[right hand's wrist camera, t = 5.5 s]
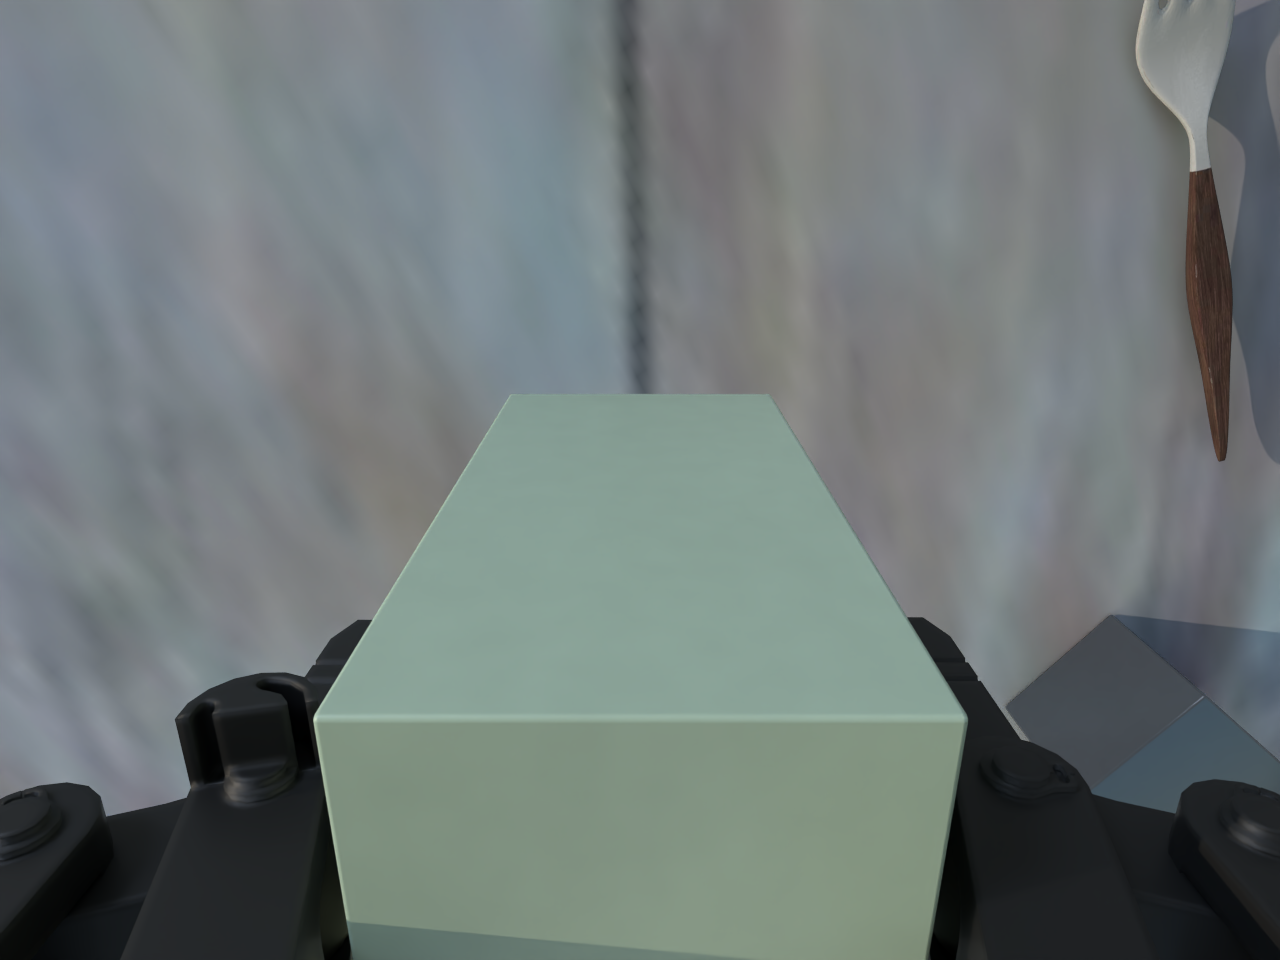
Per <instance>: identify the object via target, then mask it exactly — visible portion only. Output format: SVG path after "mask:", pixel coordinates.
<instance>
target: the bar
mask: <svg viewBox="0 0 1280 960" xmlns="http://www.w3.org/2000/svg"><path fill="white" fill-rule="evenodd" d="M313 722H314V728H315V734H316V740H317V746H318V752H319V758H320V764H321V770H322V776H323V782H324V788H325V794H326V800H327V806H328V812H329V818H330V825H331V831H332V837H333V843H334V849H335V855H336V861H337V867H338V873H339V879H340V885H341V891H342V897H343V903H344V909H345V915H346V921H347V927H348V933H349V939H350V945H351V951H352V957H353V960H928V957H929V951H930V945H931V939H932V933H933V928H934V922H935V916H936V910H937V904H938V898H939V892H940V886H941V880H942V874H943V868H944V862H945V856H946V850H947V844H948V838H949V832H950V826H951V820H952V814H953V808H954V803H955V797H956V791H957V785H958V779H959V773H960V767H961V761H962V755H963V749H964V743H965V737H966V731H967V725H968V717H967V714H966V713H965V711H964V709H963V708H962V706H961V705H960V703H959V701H958V700H957V698H956V696H955V695H954V693H953V692H952V690H951V688H950V687H949V685H948V683H947V682H946V680H945V679H944V677H943V675H942V674H941V672H940V670H939V669H938V667H937V666H936V664H935V662H934V661H933V659H932V657H931V656H930V654H929V652H928V651H927V649H926V648H925V646H924V644H923V643H922V641H921V639H920V638H919V636H918V635H917V633H916V631H915V630H914V628H913V626H912V625H911V623H910V622H909V620H908V618H907V617H906V615H905V613H904V612H903V610H902V609H901V607H900V605H899V604H898V602H897V600H896V599H895V597H894V595H893V594H892V592H891V591H890V589H889V587H888V586H887V584H886V582H885V581H884V579H883V578H882V576H881V574H880V573H879V571H878V569H877V568H876V566H875V565H874V563H873V561H872V560H871V558H870V556H869V555H868V553H867V552H866V550H865V548H864V547H863V545H862V543H861V542H860V540H859V539H858V537H857V535H856V534H855V532H854V530H853V529H852V527H851V525H850V524H849V522H848V521H847V519H846V517H845V516H844V514H843V512H842V511H841V509H840V508H839V506H838V504H837V503H836V501H835V499H834V498H833V496H832V495H831V493H830V491H829V490H828V488H827V486H826V485H825V483H824V482H823V480H822V478H821V477H820V475H819V473H818V472H817V470H816V468H815V467H814V465H813V464H812V462H811V460H810V459H809V457H808V455H807V454H806V452H805V451H804V449H803V447H802V446H801V444H800V442H799V441H798V439H797V438H796V436H795V434H794V433H793V431H792V429H791V428H790V426H789V425H788V423H787V421H786V420H785V418H784V416H783V415H782V413H781V411H780V410H779V408H778V407H777V405H776V403H775V402H774V400H773V398H772V397H771V395H769V394H511V395H510V396H509V398H508V399H507V401H506V403H505V404H504V406H503V408H502V409H501V411H500V412H499V414H498V416H497V417H496V419H495V421H494V422H493V424H492V426H491V427H490V429H489V430H488V432H487V434H486V435H485V437H484V439H483V440H482V442H481V444H480V445H479V447H478V448H477V450H476V452H475V453H474V455H473V457H472V458H471V460H470V461H469V463H468V465H467V466H466V468H465V470H464V471H463V473H462V475H461V476H460V478H459V479H458V481H457V483H456V484H455V486H454V488H453V489H452V491H451V493H450V494H449V496H448V497H447V499H446V501H445V502H444V504H443V506H442V507H441V509H440V511H439V512H438V514H437V515H436V517H435V519H434V520H433V522H432V524H431V525H430V527H429V529H428V530H427V532H426V533H425V535H424V537H423V538H422V540H421V542H420V543H419V545H418V546H417V548H416V550H415V551H414V553H413V555H412V556H411V558H410V560H409V561H408V563H407V564H406V566H405V568H404V569H403V571H402V573H401V574H400V576H399V578H398V579H397V581H396V582H395V584H394V586H393V587H392V589H391V591H390V592H389V594H388V596H387V597H386V599H385V600H384V602H383V604H382V605H381V607H380V609H379V610H378V612H377V614H376V615H375V617H374V618H373V620H372V622H371V623H370V625H369V627H368V628H367V630H366V631H365V633H364V635H363V636H362V638H361V640H360V641H359V643H358V645H357V646H356V648H355V649H354V651H353V653H352V654H351V656H350V658H349V659H348V661H347V663H346V664H345V666H344V667H343V669H342V671H341V672H340V674H339V676H338V677H337V679H336V681H335V682H334V684H333V685H332V687H331V689H330V690H329V692H328V694H327V695H326V697H325V699H324V700H323V702H322V703H321V705H320V707H319V708H318V710H317V712H316V713H315V715H314V718H313Z"/></svg>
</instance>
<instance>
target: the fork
mask: <svg viewBox="0 0 1280 960" xmlns="http://www.w3.org/2000/svg"><path fill="white" fill-rule="evenodd" d="M1235 1H1236V0H1189V1H1187V0H1168V2H1167V4H1166V6H1165V7H1164V8H1163V9H1159V4H1158V2H1159V0H1144V5H1143V9H1142V14H1141V18H1140V23H1139V28H1138V33H1137V40H1136V61H1137V65H1138V69H1139V71H1140V74H1141V76H1142V78H1143V80H1144V81H1145V83H1146V84H1147V86H1148V87H1149V88H1150V90H1151V91H1152V92H1153V93H1154V94H1155V95H1156V96H1157V97H1158V98H1159V99H1160V100H1161V101H1162V102H1163V103H1164V104H1165V105H1166V106H1167V107H1168V108H1169V109H1170V110H1171V111H1172V112H1173V114H1174V115H1175V116H1176V117H1177V118H1178V119H1179V120H1180V122H1181V123H1182V124H1183V126H1184V128H1185V129H1186V132H1187V134H1188V138H1189V143H1190V180H1189V201H1188V220H1187V240H1186V291H1187V301H1188V308H1189V314H1190V319H1191V324H1192V329H1193V334H1194V339H1195V344H1196V348H1197V353H1198V358H1199V363H1200V368H1201V374H1202V379H1203V385H1204V392H1205V398H1206V404H1207V411H1208V417H1209V423H1210V428H1211V434H1212V439H1213V444H1214V448H1215V452H1216V456H1217V459H1218V461H1219V462H1220V461H1224V460H1225V458H1226V453H1227V442H1228V424H1229V385H1230V356H1231V335H1232V306H1233V298H1232V279H1231V271H1230V264H1229V258H1228V252H1227V246H1226V241H1225V236H1224V230H1223V225H1222V220H1221V215H1220V210H1219V205H1218V200H1217V195H1216V190H1215V185H1214V180H1213V175H1212V169H1211V164H1210V158H1209V152H1208V144H1207V122H1208V116H1209V111H1210V107H1211V103H1212V99H1213V96H1214V93H1215V89H1216V86H1217V83H1218V80H1219V77H1220V74H1221V70H1222V67H1223V64H1224V60H1225V57H1226V53H1227V49H1228V45H1229V40H1230V36H1231V30H1232V24H1233V17H1234V9H1235Z"/></svg>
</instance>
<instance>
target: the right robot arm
mask: <svg viewBox="0 0 1280 960" xmlns="http://www.w3.org/2000/svg"><path fill="white" fill-rule="evenodd" d="M907 618H908V620H909V622H910V623H911V625H912V626H913V628H914V630H915V631H916V633H917V635H918V636H919V638H920V639H921V641H922V643H923V644H924V646H925V648H926V649H927V651H928V652H929V654H930V656H931V657H932V659H933V661H934V662H935V664H936V666H937V667H938V669H939V670H940V672H941V674H942V675H943V677H944V679H945V680H946V682H947V683H948V685H949V687H950V688H951V690H952V692H953V693H954V695H955V696H956V698H957V700H958V701H959V703H960V705H961V706H962V708H963V709H964V711H965V713H966V714H967V717H968V725H967V731H966V737H965V743H964V749H963V755H962V761H961V767H960V773H959V779H958V785H957V791H956V797H955V803H954V808H953V814H952V820H951V826H950V832H949V838H948V844H947V850H946V856H945V862H944V868H943V874H942V880H941V886H940V892H939V898H938V904H937V910H936V916H935V922H934V928H933V933H932V939H931V945H930V951H929V957H928V960H1280V795H1279V794H1277V793H1275V792H1273V791H1270V790H1267V789H1264V788H1262V787H1261V788H1260V787H1257V786H1255V785H1250V784H1247V783H1243V782H1236V781H1227V780H1219V779H1212V780H1206V781H1200V782H1194V783H1192V784H1191V785H1190V786H1189V787H1188V788H1186V789H1185V790H1184V791H1183V792H1182V793H1181V796H1180V799H1179V803H1178V806H1177V810H1176V813H1171V812H1166V811H1161V810H1157V809H1152V808H1148V807H1143V806H1138V805H1134V804H1129V803H1125V802H1120V801H1116V800H1112V799H1109V798H1105V797H1102V796H1098V795H1095V794H1092V792H1091V790H1090V787H1089V786H1088V784H1087V783H1086V781H1085V780H1084V779H1083V777H1082V776H1081V774H1080V773H1079V771H1078V770H1077V769H1076V768H1075V767H1073V766H1072V765H1071V764H1069V763H1068V762H1067V761H1066V760H1064V759H1063V758H1062V757H1060V756H1059V755H1058V754H1056V753H1054V752H1052V751H1050V750H1047V749H1045V748H1043V747H1041V746H1039V745H1037V744H1035V743H1032V742H1028V741H1024V740H1021V739H1020V738H1019V736H1018V735H1017V733H1016V732H1015V730H1014V729H1013V727H1012V726H1011V725H1010V723H1009V722H1008V720H1007V719H1006V717H1005V716H1004V714H1003V713H1002V711H1001V710H1000V708H999V707H998V706H997V704H996V703H995V701H994V700H993V698H992V697H991V695H990V694H989V692H988V691H987V689H986V688H985V687H984V685H983V684H982V682H981V681H978V679H977V677H978V676H977V675H976V673H975V672H974V670H973V669H972V668H971V666H970V665H969V663H965V657H964V656H963V654H962V653H961V651H960V650H959V649H958V647H957V646H956V644H955V643H954V641H953V640H952V638H951V637H950V636H949V635H948V634H946V633H945V632H943V631H942V630H940V629H939V628H937V627H936V626H935V625H933V624H932V623H930V622H929V621H927V620H926V619H924V618H923V617H907ZM371 622H372V620H357V621H356V622H354V623H353V624H351V625H350V626H349V627H347V628H346V629H344V630H343V631H341V632H340V633H339V634H337V635H336V636H334V637H333V638H331V639H330V641H329V642H328V644H327V645H326V647H325V648H324V650H323V651H322V653H321V654H320V656H319V657H318V659H317V660H316V665H313V666H312V667H311V669H310V670H309V672H308V673H307V675H306V676H305V677H301V676H297V675H293V674H289V673H259V674H254V675H250V676H245V677H240V678H236V679H233V680H230V681H228V682H225V683H223V684H220V685H218V686H215V687H213V688H211V689H208V690H207V691H205V692H204V693H202V694H201V695H199V696H198V697H196V698H195V699H193V700H192V701H190V702H189V703H188V704H187V705H186V706H185V707H184V709H183V710H182V711H181V712H180V714H179V715H178V716H177V717H176V718H175V722H176V726H177V730H178V734H179V739H180V743H181V747H182V751H183V756H184V760H185V764H186V768H187V773H188V777H189V781H190V785H191V789H190V791H189V794H188V796H187V798H184V799H181V800H177V801H174V802H170V803H167V804H162V805H158V806H153V807H149V808H144V809H139V810H135V811H130V812H126V813H121V814H117V815H112V816H107V817H106V815H105V811H104V808H103V804H102V801H101V797H100V796H99V795H98V794H97V793H96V792H95V791H94V790H92V789H91V788H90V787H89V786H85V785H79V784H73V783H58V784H49V785H41V786H36V787H33V788H29V789H25V790H24V791H19V792H16V793H13V794H10V795H8V796H5V797H3V798H2V799H0V960H353V957H352V951H351V945H350V939H349V933H348V927H347V921H346V915H345V909H344V903H343V897H342V891H341V885H340V879H339V873H338V867H337V861H336V855H335V849H334V843H333V837H332V831H331V825H330V818H329V812H328V806H327V800H326V794H325V788H324V782H323V776H322V770H321V764H320V758H319V752H318V746H317V740H316V734H315V728H314V722H313V718H314V715H315V713H316V712H317V710H318V708H319V707H320V705H321V703H322V702H323V700H324V699H325V697H326V695H327V694H328V692H329V690H330V689H331V687H332V685H333V684H334V682H335V681H336V679H337V677H338V676H339V674H340V672H341V671H342V669H343V667H344V666H345V664H346V663H347V661H348V659H349V658H350V656H351V654H352V653H353V651H354V649H355V648H356V646H357V645H358V643H359V641H360V640H361V638H362V636H363V635H364V633H365V631H366V630H367V628H368V627H369V625H370V623H371Z"/></svg>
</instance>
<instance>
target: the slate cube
mask: <svg viewBox="0 0 1280 960" xmlns="http://www.w3.org/2000/svg"><path fill="white" fill-rule="evenodd" d="M1005 708H1006V710H1007V711H1008V712H1009V714H1010V715H1011V717H1012V718H1013V719H1014V721H1015V722H1016V723H1017V725H1018V726H1019V727H1020V729H1021V730H1022V732H1023V733H1024V734H1025V736H1026V737H1027V738H1028V740H1029V741H1030V742H1032V743H1035V744H1037V745H1039V746H1041V747H1043V748H1045V749H1047V750H1050V751H1052V752H1054V753H1056V754H1058V755H1059V756H1060V757H1062V758H1063V759H1064V760H1066V761H1067V762H1068V763H1069V764H1071V765H1072V766H1073V767H1075V768H1076V769H1077V770H1078V771H1079V773H1080V774H1081V776H1082V777H1083V779H1084V780H1085V781H1086V783H1087V784H1088V786H1089V787H1090V790H1091V792H1092V794H1095V795H1098V796H1102V797H1105V798H1109V799H1112V800H1116V801H1120V802H1125V803H1129V804H1134V805H1138V806H1143V807H1148V808H1152V809H1157V810H1161V811H1166V812H1171V813H1176V810H1177V806H1178V803H1179V799H1180V796H1181V793H1182V792H1183V791H1184V790H1185V789H1186V788H1188V787H1189V786H1190V785H1191V784H1192V783H1194V782H1200V781H1206V780H1212V779H1219V780H1227V781H1236V782H1243V783H1247V784H1250V785H1255V786H1257V787H1260V788H1261V787H1262V788H1264V789H1267V790H1270V791H1273V792H1275V793H1277V794H1279V795H1280V761H1279V760H1278V759H1277V758H1276V757H1274V756H1273V755H1272V754H1271V753H1270V752H1269V751H1268V750H1267V749H1265V748H1264V747H1263V746H1262V745H1261V744H1260V743H1259V742H1258V741H1256V740H1255V739H1254V738H1253V737H1252V736H1251V735H1250V734H1249V733H1248V732H1246V731H1245V730H1244V729H1243V728H1242V727H1241V726H1240V725H1239V724H1237V723H1236V722H1235V721H1234V720H1233V719H1232V718H1231V717H1230V716H1228V715H1227V714H1226V713H1225V712H1224V711H1223V710H1222V709H1221V708H1219V707H1218V706H1217V705H1216V704H1215V703H1214V702H1213V701H1212V700H1210V699H1209V698H1208V697H1207V696H1206V695H1205V694H1204V693H1203V692H1201V691H1200V690H1199V689H1198V688H1197V687H1196V686H1194V685H1193V684H1192V683H1191V682H1190V681H1189V680H1187V679H1186V678H1185V677H1184V676H1183V675H1182V674H1181V673H1179V672H1178V671H1177V670H1176V669H1175V668H1174V667H1172V666H1171V665H1170V664H1169V663H1168V662H1167V661H1165V660H1164V659H1163V658H1162V657H1161V656H1160V655H1159V654H1157V653H1156V652H1155V651H1154V650H1153V649H1152V648H1150V647H1149V646H1148V645H1147V644H1146V643H1145V642H1143V641H1142V640H1141V639H1140V638H1139V637H1138V636H1137V635H1135V634H1134V633H1133V632H1132V631H1131V630H1130V629H1128V628H1127V627H1126V626H1125V625H1124V624H1123V623H1121V622H1120V621H1119V620H1118V619H1117V618H1116V617H1115V616H1113V615H1110V616H1109V617H1107V618H1106V619H1105V620H1104V621H1103V622H1102V623H1101V624H1099V625H1098V626H1097V627H1096V628H1095V629H1094V630H1093V631H1091V632H1090V633H1089V634H1088V635H1087V636H1086V637H1084V638H1083V639H1082V640H1081V641H1080V642H1079V643H1078V644H1076V645H1075V646H1074V647H1073V648H1072V649H1071V650H1070V651H1068V652H1067V653H1066V654H1065V655H1064V656H1063V657H1062V658H1060V659H1059V660H1058V661H1057V662H1056V663H1055V664H1054V665H1052V666H1051V667H1050V668H1049V669H1048V670H1047V671H1046V672H1044V673H1043V674H1042V675H1041V676H1040V677H1039V678H1037V679H1036V680H1035V681H1034V682H1033V683H1032V684H1031V685H1029V686H1028V687H1027V688H1026V689H1025V690H1024V691H1023V692H1021V693H1020V694H1019V695H1018V696H1017V697H1016V698H1015V699H1013V700H1012V701H1011V702H1010V703H1009V704H1008V705H1007V706H1006V707H1005Z"/></svg>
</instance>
